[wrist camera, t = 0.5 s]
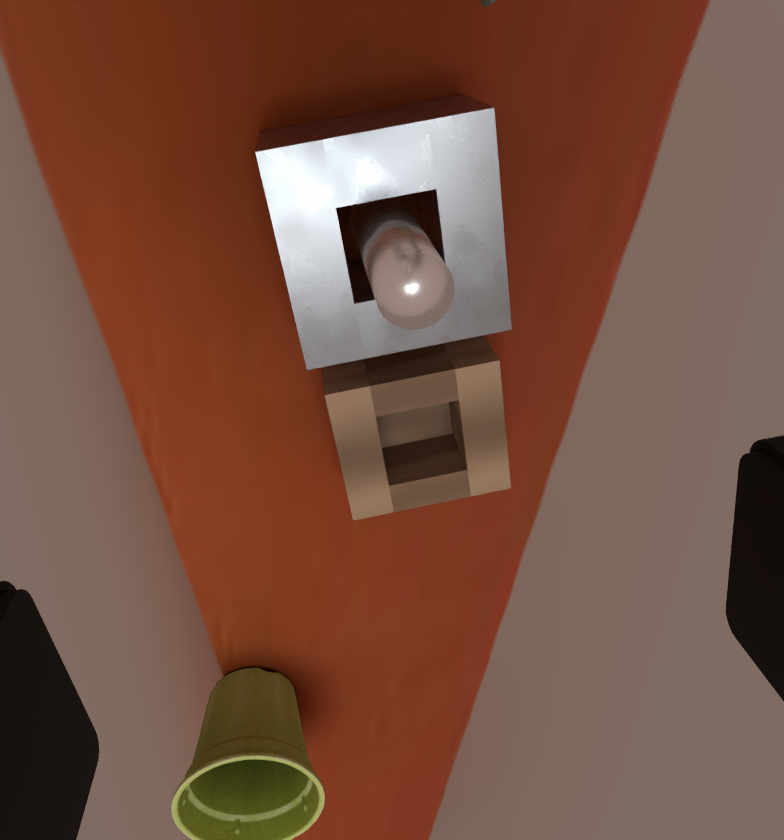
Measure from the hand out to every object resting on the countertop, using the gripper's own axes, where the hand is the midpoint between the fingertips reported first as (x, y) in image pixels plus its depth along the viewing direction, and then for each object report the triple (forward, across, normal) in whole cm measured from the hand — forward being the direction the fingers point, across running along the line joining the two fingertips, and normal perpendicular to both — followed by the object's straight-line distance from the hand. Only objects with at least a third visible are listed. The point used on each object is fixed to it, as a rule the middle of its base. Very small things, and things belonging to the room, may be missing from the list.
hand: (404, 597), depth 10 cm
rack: (+31, -3, +12) cm, 34 cm away
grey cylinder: (+31, -3, +1) cm, 31 cm away
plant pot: (+32, +11, +34) cm, 48 cm away
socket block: (+31, -3, +1) cm, 31 cm away
